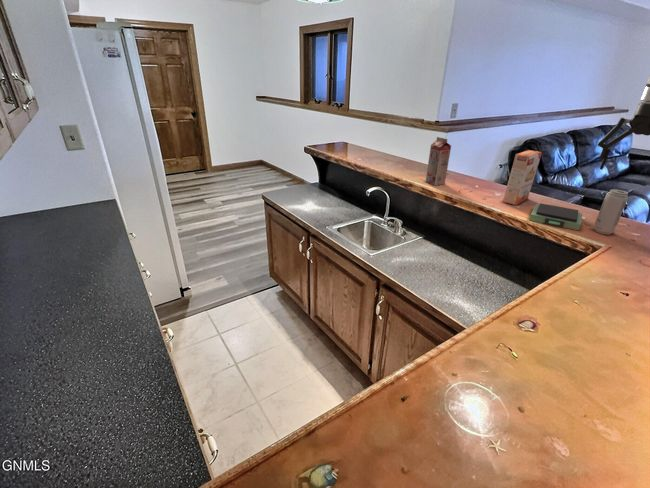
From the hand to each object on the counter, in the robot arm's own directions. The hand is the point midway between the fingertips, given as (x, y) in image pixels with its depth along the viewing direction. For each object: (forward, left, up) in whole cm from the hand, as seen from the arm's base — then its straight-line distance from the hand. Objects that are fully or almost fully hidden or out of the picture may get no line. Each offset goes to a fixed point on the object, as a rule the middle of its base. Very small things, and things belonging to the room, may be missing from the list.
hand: (626, 172), depth 115 cm
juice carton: (+69, -23, -22) cm, 76 cm away
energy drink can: (0, 0, -22) cm, 22 cm away
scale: (+15, -3, -22) cm, 26 cm away
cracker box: (+31, -18, -22) cm, 42 cm away
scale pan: (+15, -3, -19) cm, 24 cm away
